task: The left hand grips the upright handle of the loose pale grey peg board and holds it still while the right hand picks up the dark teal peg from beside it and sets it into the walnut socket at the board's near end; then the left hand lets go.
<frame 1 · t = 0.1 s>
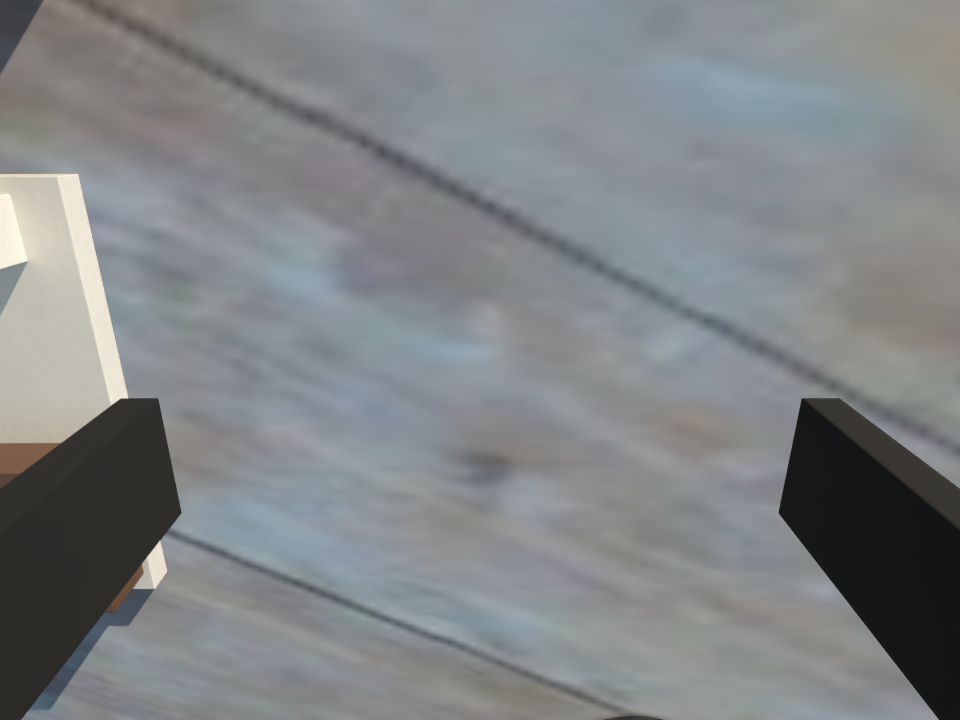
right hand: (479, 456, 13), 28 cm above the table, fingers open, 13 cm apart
peg board: (42, 397, 43), on the table
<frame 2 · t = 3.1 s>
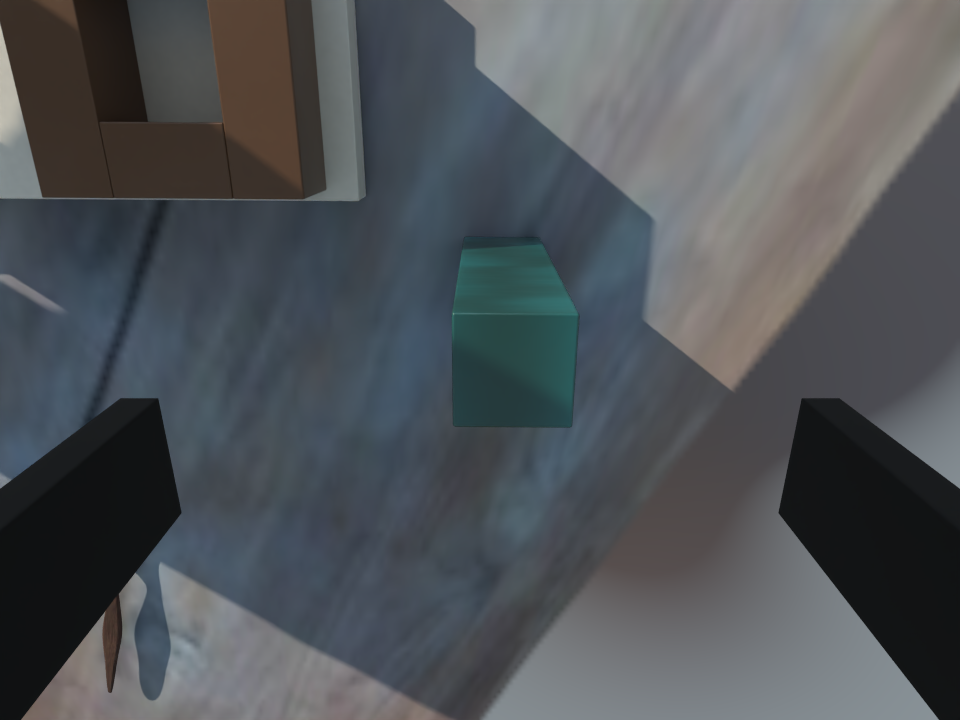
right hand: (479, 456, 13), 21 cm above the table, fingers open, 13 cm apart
peg board: (45, 65, 29), on the table
fork: (119, 597, 41), on the table
peg: (501, 274, 33), on the table
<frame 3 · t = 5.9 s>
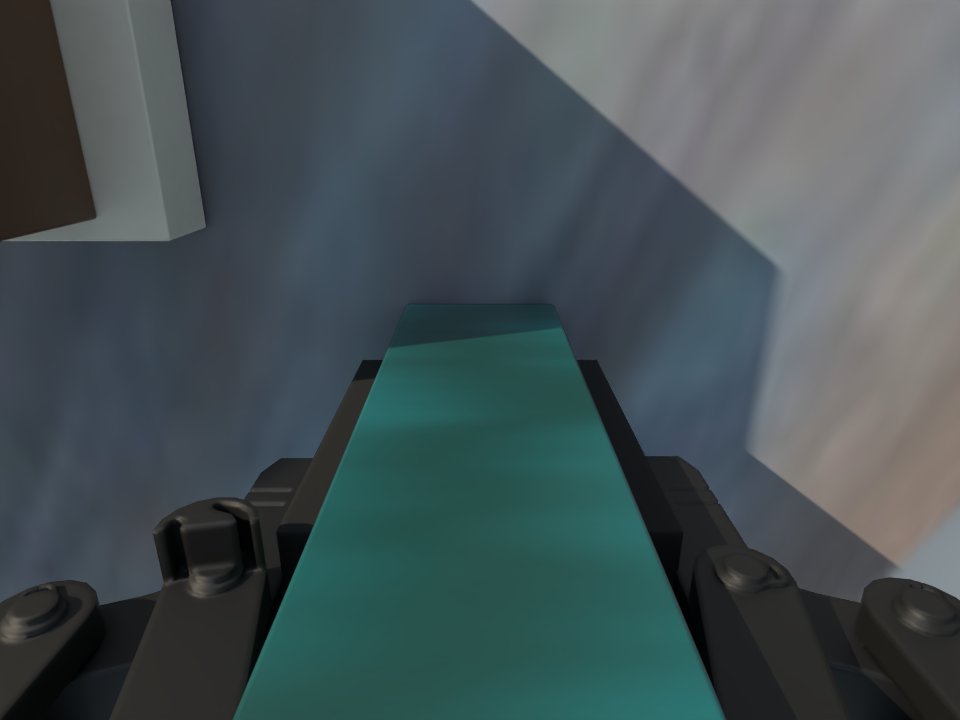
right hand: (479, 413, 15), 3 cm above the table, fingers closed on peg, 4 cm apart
peg: (479, 372, 17), on the table, touching right hand
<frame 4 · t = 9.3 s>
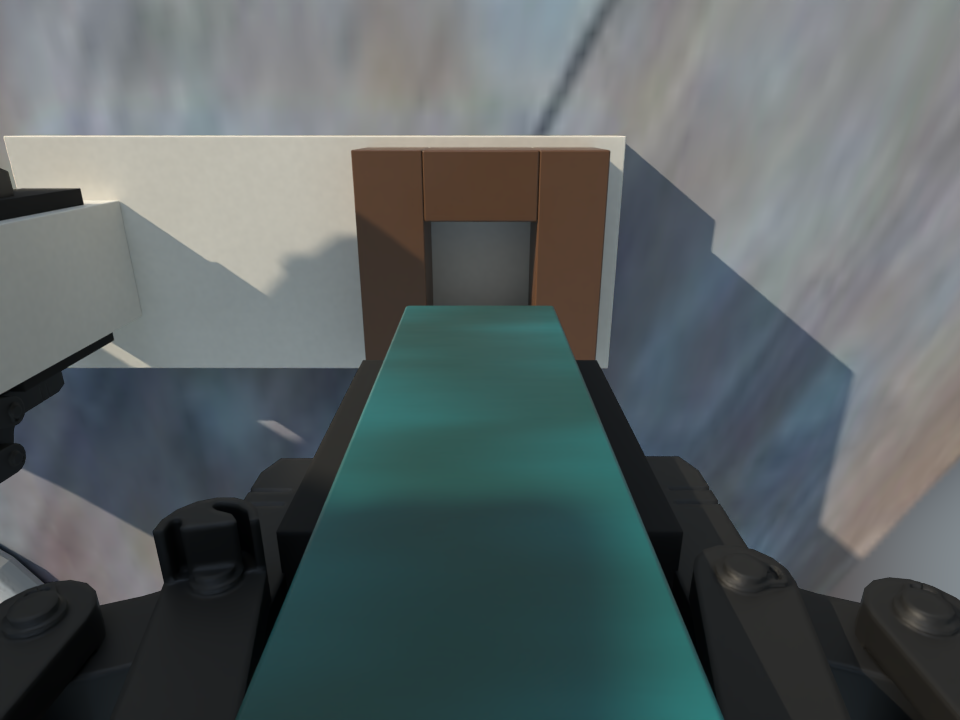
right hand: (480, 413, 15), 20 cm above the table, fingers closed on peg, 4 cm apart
peg board: (334, 252, 33), on the table, touching left hand
peg: (479, 373, 17), point 17 cm above the table, touching right hand
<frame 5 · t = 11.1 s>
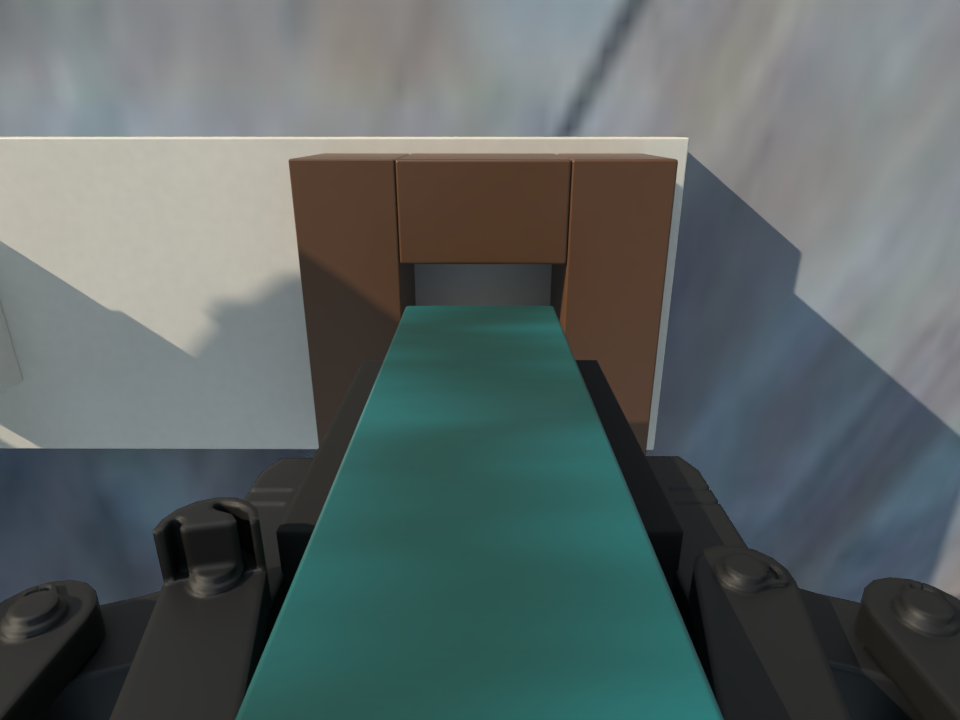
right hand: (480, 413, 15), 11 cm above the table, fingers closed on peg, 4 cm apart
peg board: (285, 294, 25), on the table, touching left hand
peg: (479, 373, 17), point 8 cm above the table, touching right hand
when the right hand's fingers open (8 cm above the table, at t = 12.6 s): peg drops 3 cm, resting on peg board.
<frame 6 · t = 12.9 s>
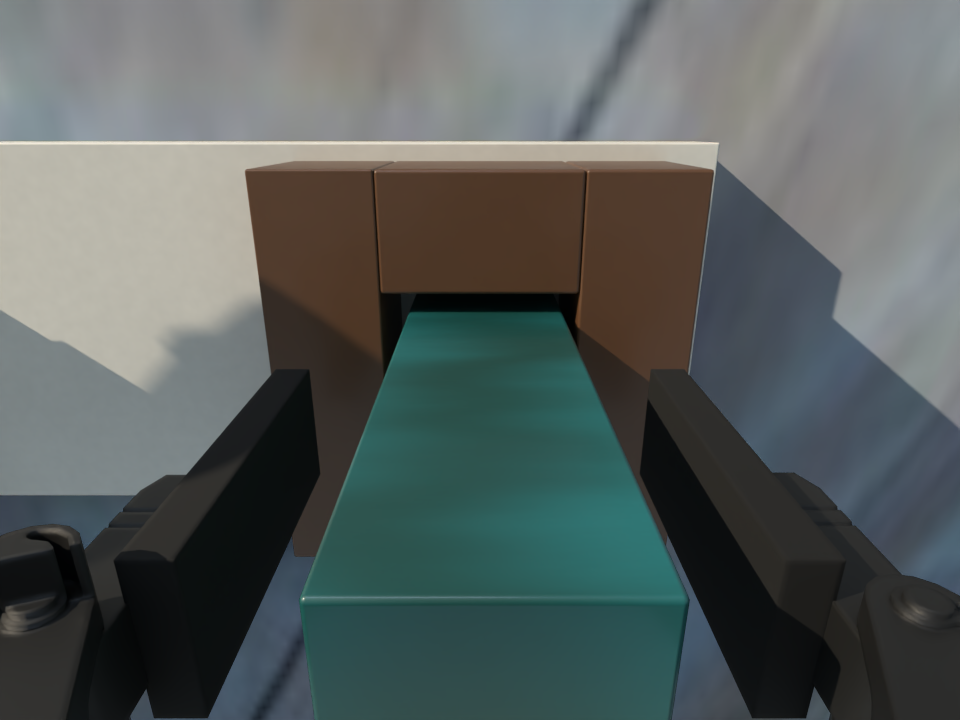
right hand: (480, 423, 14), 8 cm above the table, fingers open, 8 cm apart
peg board: (255, 320, 22), on the table, touching left hand, peg
peg: (484, 339, 20), point 2 cm above the table, touching peg board
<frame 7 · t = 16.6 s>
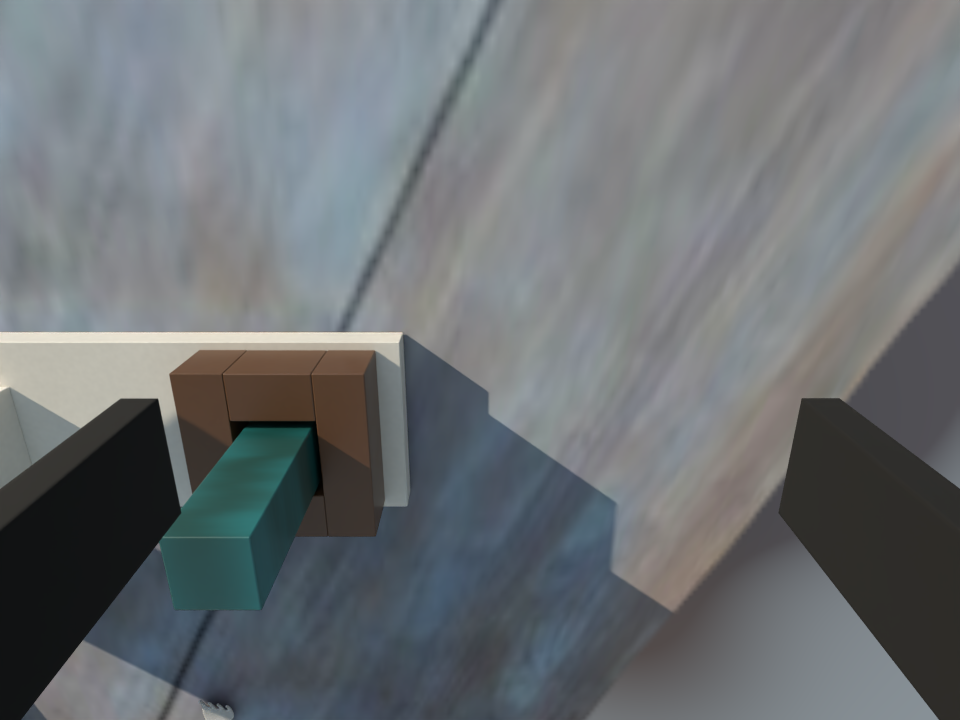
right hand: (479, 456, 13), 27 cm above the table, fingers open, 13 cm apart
peg board: (188, 415, 42), on the table, touching peg
peg: (298, 429, 40), point 2 cm above the table, touching peg board
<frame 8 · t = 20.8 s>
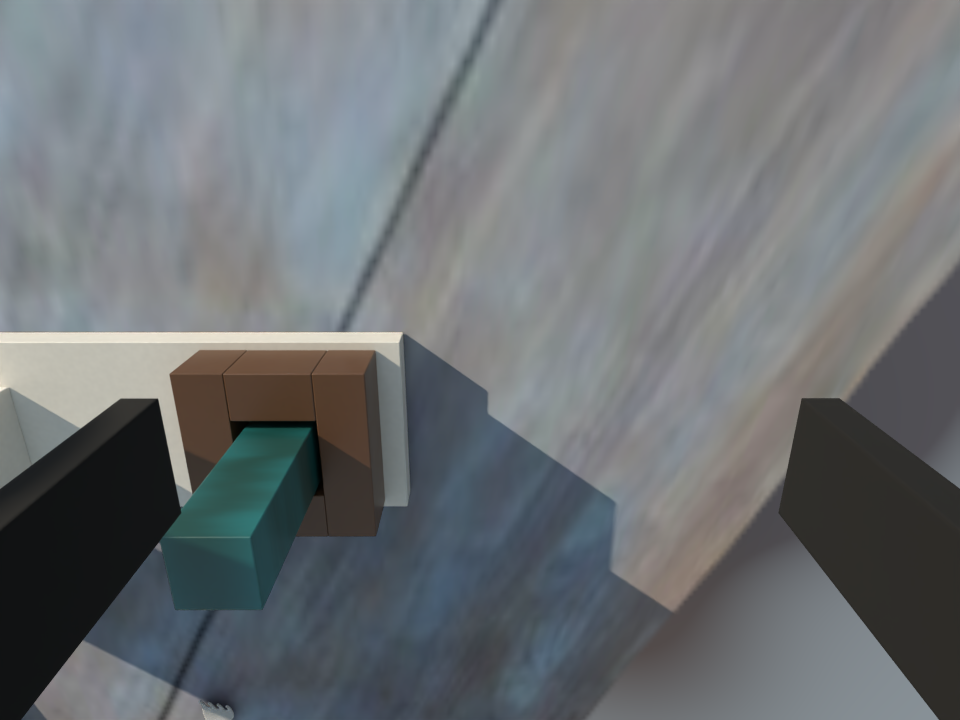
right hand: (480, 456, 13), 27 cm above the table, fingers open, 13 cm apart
peg board: (188, 415, 42), on the table, touching peg
peg: (299, 429, 40), point 2 cm above the table, touching peg board
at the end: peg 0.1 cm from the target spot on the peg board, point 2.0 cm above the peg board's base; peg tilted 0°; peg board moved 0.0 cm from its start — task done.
